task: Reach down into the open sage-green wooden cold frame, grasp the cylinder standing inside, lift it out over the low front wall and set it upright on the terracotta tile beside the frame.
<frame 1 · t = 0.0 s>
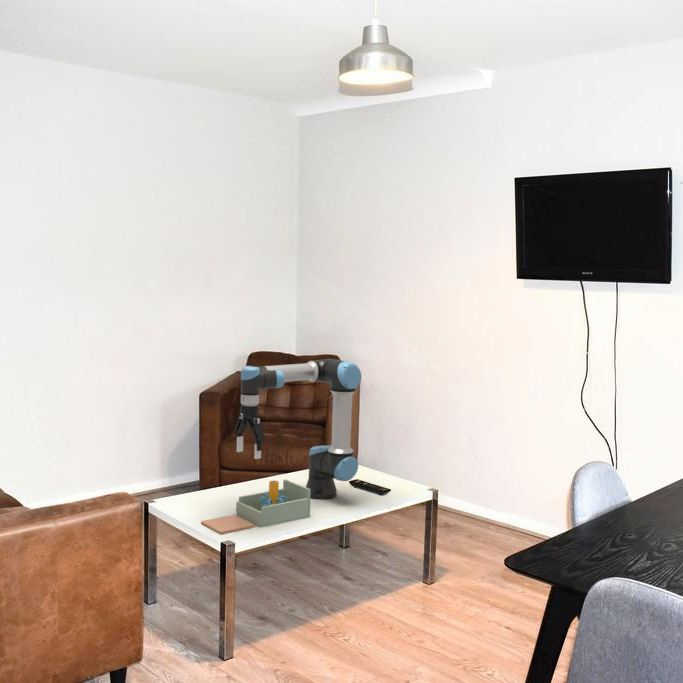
hand: (248, 455, 339), 28 cm above the table, fingers open, 13 cm apart
cylinder: (273, 516, 349), resting in cold frame
cold frame: (273, 516, 349), on the table
terracotta tile: (227, 525, 335), on the table
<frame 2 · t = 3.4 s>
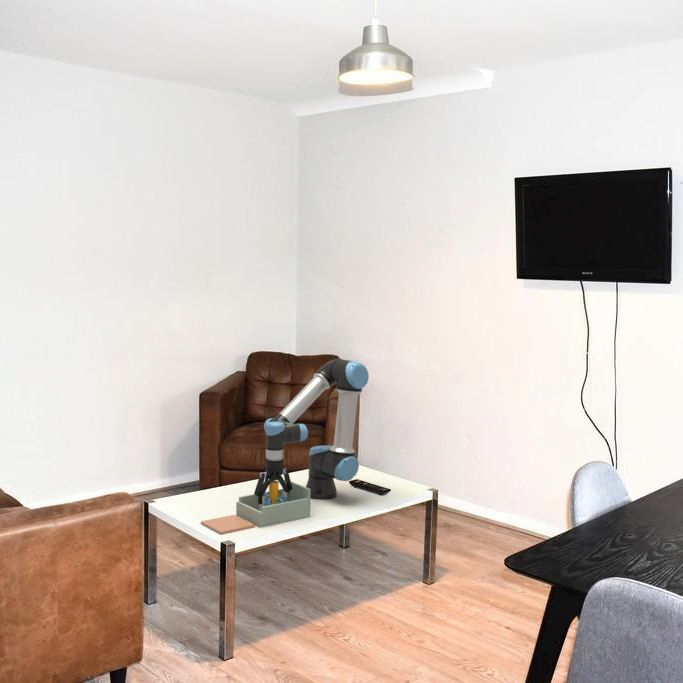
hand: (273, 509, 349), 3 cm above the table, fingers closed on cylinder, 11 cm apart
cylinder: (273, 516, 349), resting in cold frame, touching gripper
when the fingers open (5 cm above the table, at t = 12.1 s): cylinder drops 1 cm, resting on terracotta tile.
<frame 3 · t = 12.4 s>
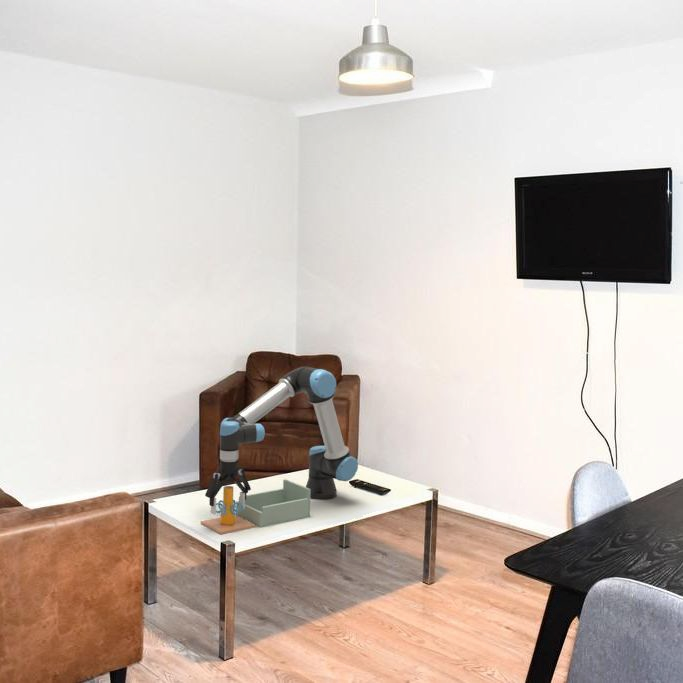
hand: (227, 510, 334), 6 cm above the table, fingers open, 13 cm apart
cylinder: (227, 523, 335), point 1 cm above the table, touching terracotta tile
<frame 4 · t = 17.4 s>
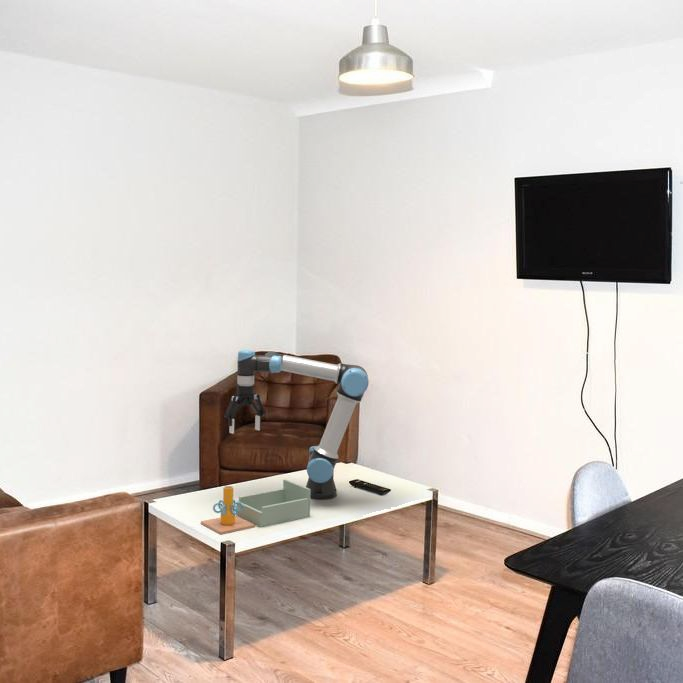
hand: (244, 431, 367), 32 cm above the table, fingers open, 13 cm apart
nothing on the table moved.
at the end: cylinder inside the target area (0.0 cm from its centre), point 0.8 cm above the table; cylinder tilted 0°; the gripper is holding nothing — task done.
